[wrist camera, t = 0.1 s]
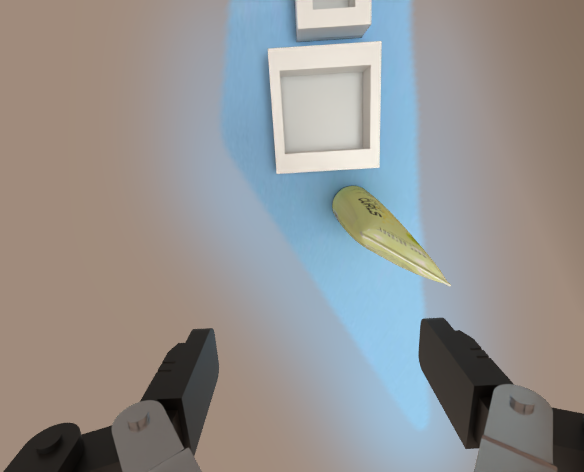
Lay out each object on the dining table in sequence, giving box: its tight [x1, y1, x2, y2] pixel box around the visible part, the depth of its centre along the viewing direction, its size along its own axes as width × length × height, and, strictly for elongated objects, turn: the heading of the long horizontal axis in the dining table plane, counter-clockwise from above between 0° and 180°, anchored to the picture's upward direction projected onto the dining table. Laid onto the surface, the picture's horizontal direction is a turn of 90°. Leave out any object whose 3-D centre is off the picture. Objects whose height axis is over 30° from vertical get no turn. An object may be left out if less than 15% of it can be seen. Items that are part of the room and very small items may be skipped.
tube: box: [332, 186, 451, 286], centre depth 31 cm, size 6×5×20 cm
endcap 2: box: [268, 41, 381, 174], centre depth 36 cm, size 12×11×4 cm
